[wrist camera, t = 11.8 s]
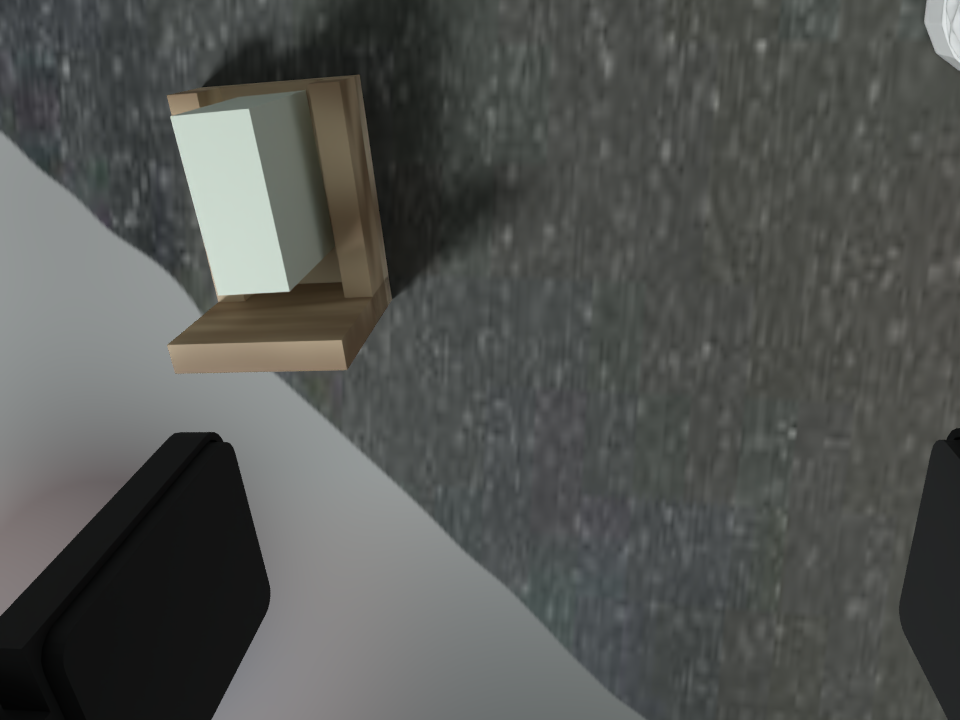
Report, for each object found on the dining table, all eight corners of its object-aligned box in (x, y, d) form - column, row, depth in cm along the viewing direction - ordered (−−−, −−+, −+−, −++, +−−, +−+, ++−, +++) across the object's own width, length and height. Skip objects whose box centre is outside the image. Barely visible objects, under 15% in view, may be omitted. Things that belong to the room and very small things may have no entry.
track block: (200, 87, 38) (99, 111, 30) (359, 74, 37) (298, 95, 29) (250, 304, 43) (175, 373, 35) (391, 299, 42) (347, 370, 34)
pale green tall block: (239, 96, 37) (170, 116, 31) (305, 90, 37) (248, 108, 31) (274, 250, 41) (218, 295, 34) (335, 246, 40) (289, 291, 34)
